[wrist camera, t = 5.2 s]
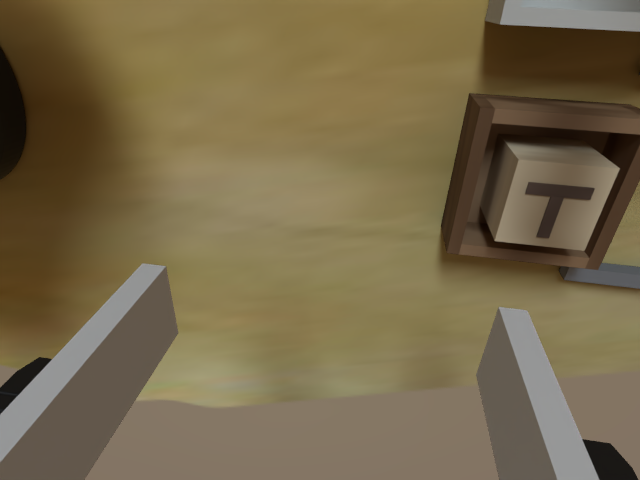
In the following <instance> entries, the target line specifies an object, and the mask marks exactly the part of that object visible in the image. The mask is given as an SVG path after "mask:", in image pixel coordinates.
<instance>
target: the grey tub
mask: <svg viewBox="0 0 640 480" xmlns="http://www.w3.org/2000/svg"><path fill="white" fill-rule="evenodd" d="M485 21H488V22H492V23H496V24H501V25H520V26H540V27H559V28H578V29H598V30H617V31H637V32H640V0H489V5H488V9H487V14H486V19H485Z"/></svg>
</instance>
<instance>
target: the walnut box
mask: <svg viewBox="0 0 640 480" xmlns="http://www.w3.org/2000/svg"><path fill="white" fill-rule="evenodd" d="M498 133H500V134H513V135H525V136H538V137H550V138H563V139H575V140H583V141H584V142H586V143H587V144H588V145H590V146H591V147H592V148H594V149H595V150H596V151H597V152H599V153H600V154H601V155H603V156H604V157H605V158H607V159H608V160H609V161H611V162H612V163H613V164H615V165H616V166H617V167H619V168H620V170H619V172H618V174H617V177H616V179H615V181H614V183H613V186H612V188H611V190H610V193H609V195H608V197H607V200H606V202H605V204H604V207H603V209H602V211H601V214H600V216H599V218H598V221H597V223H596V225H595V228H594V230H593V232H592V235H591V237H590V239H589V242H588V244H587V246H586V248H585V251H582V250H572V249H563V248H554V247H545V246H536V245H526V244H517V243H508V242H499V241H494V238H493V236H492V233H491V231H490V229H489V226H488V224H487V221H486V219H485V216H484V214H483V212H482V209H481V207H480V202H481V198H482V194H483V191H484V187H485V183H486V179H487V175H488V171H489V168H490V164H491V160H492V156H493V152H494V148H495V145H496V141H497V137H498ZM639 181H640V109H639V108H637V107H634V106H632V105H627V104H613V103H599V102H585V101H570V100H556V99H542V98H528V97H513V96H499V95H485V94H471V93H469V98H468V103H467V107H466V112H465V116H464V121H463V126H462V130H461V135H460V140H459V144H458V149H457V154H456V158H455V163H454V168H453V172H452V177H451V182H450V186H449V191H448V196H447V200H446V205H445V210H444V214H443V219H442V224H441V227H442V232H443V237H444V242H445V246H446V251H447V253H451V254H460V255H469V256H478V257H487V258H496V259H504V260H513V261H522V262H531V263H540V264H549V265H558V266H566V267H575V268H584V269H593V270H598V269H599V267H600V265H601V263H602V260H603V258H604V256H605V254H606V252H607V250H608V247H609V245H610V243H611V241H612V239H613V237H614V235H615V232H616V230H617V228H618V226H619V224H620V222H621V219H622V217H623V215H624V213H625V211H626V209H627V206H628V204H629V202H630V200H631V198H632V196H633V194H634V191H635V189H636V187H637V185H638V183H639Z"/></svg>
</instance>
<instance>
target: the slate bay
mask: <svg viewBox="0 0 640 480" xmlns="http://www.w3.org/2000/svg"><path fill="white" fill-rule="evenodd" d="M639 75H640V72H639ZM559 272H560V274H561V276H562V277H563V279H564V280H570V281H578V282H587V283H595V284H604V285H613V286H621V287H630V288H638V289H640V267H634V266H625V265H616V264H607V263H601V265H600V267H599V269H598V270H593V269H584V268H575V267H566V266H561V267H560V270H559Z"/></svg>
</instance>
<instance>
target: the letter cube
mask: <svg viewBox="0 0 640 480" xmlns="http://www.w3.org/2000/svg"><path fill="white" fill-rule="evenodd" d="M619 170H620V168H619V167H617V166H616V165H615V164H613V163H612V162H611V161H609V160H608V159H607V158H605V157H604V156H603V155H601V154H600V153H599V152H597V151H596V150H595V149H594V148H592V147H591V146H590V145H588V144H587V143H586V142H584V141H583V140H575V139H563V138H550V137H538V136H525V135H513V134H500V133H498V137H497V141H496V145H495V148H494V152H493V156H492V160H491V164H490V168H489V171H488V175H487V179H486V183H485V187H484V191H483V194H482V198H481V202H480V207H481V209H482V212H483V214H484V216H485V219H486V221H487V224H488V226H489V229H490V231H491V233H492V236H493V238H494V241H499V242H508V243H517V244H526V245H536V246H545V247H554V248H563V249H572V250H582V251H585V248H586V246H587V244H588V242H589V239H590V237H591V235H592V232H593V230H594V228H595V225H596V223H597V221H598V218H599V216H600V214H601V211H602V209H603V207H604V204H605V202H606V200H607V197H608V195H609V193H610V190H611V188H612V186H613V183H614V181H615V179H616V177H617V174H618V172H619Z"/></svg>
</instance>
